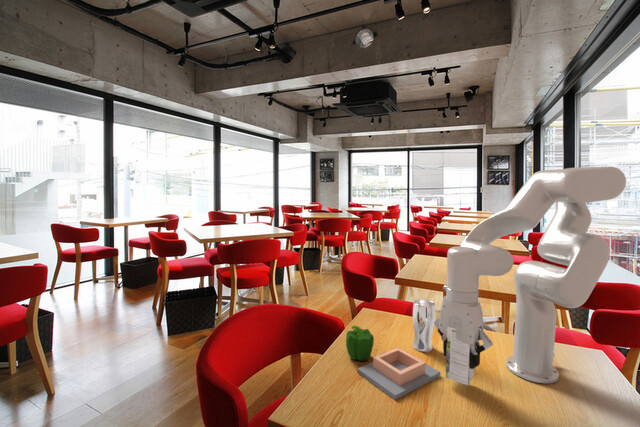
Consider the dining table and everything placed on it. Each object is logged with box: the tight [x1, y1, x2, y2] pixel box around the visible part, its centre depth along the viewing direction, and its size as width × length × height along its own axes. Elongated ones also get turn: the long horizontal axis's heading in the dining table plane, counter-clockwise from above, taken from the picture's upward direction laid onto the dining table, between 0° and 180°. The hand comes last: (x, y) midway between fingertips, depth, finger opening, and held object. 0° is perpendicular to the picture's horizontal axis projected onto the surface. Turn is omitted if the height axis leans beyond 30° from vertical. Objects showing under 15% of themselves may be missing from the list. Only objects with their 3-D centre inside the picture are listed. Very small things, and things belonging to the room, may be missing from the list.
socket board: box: [357, 347, 441, 401], centre depth 91 cm, size 18×14×4 cm
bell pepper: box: [345, 324, 375, 362], centre depth 100 cm, size 8×8×10 cm
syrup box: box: [445, 326, 475, 386], centre depth 86 cm, size 6×6×14 cm
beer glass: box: [412, 298, 436, 353], centre depth 106 cm, size 7×7×15 cm
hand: (460, 360), depth 86 cm, fingers closed on syrup box, 6 cm apart
